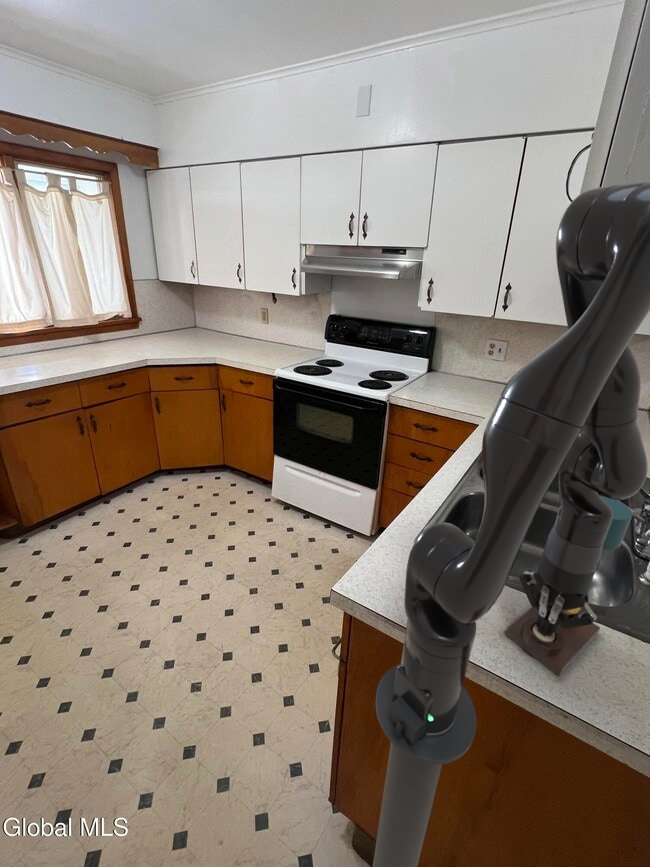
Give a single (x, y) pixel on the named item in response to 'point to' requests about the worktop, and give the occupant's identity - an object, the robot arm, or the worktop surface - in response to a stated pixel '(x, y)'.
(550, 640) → the lamp switch
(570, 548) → the robot arm
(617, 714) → the worktop surface
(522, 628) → the lamp base
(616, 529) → the lamp
